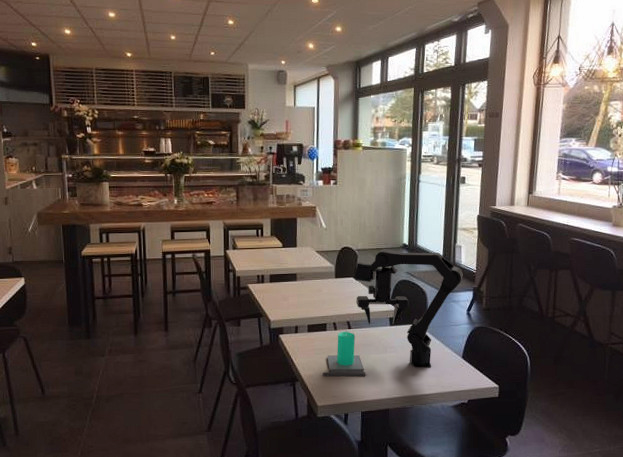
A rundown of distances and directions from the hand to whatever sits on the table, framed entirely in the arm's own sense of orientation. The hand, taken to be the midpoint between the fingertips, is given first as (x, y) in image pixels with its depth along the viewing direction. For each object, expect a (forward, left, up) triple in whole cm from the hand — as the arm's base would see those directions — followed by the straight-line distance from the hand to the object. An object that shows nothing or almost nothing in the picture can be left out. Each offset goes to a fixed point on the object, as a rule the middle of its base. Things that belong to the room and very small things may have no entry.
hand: (381, 324), depth 204 cm
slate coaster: (+14, +7, -13) cm, 20 cm away
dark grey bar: (+15, +16, -13) cm, 26 cm away
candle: (+14, +7, -12) cm, 20 cm away
